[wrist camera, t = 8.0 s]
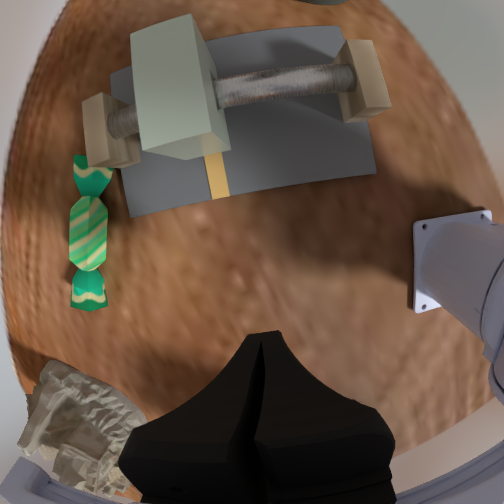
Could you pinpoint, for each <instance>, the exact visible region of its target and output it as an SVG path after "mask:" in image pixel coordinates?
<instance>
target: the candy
mask: <svg viewBox="0 0 504 504" xmlns="http://www.w3.org/2000/svg"><path fill="white" fill-rule="evenodd" d="M113 169H114V168H108V167H88V161H87V155H74V180H75V182H76V185H77V187H78V189H79V191H80V194H81V196H82V197H81V198H80V199H79V200H78V201H77V202H76V203H75V204H74V205H73V207H72V208H71V210H70V228H69V260H70V261H72V262H73V263H74V264H75V265H76V266H77V267H78V268H79V269H78V270H77V272H76V274H75V275H74V277H73V279H72V290H71V305H70V307H74V308H77V309H81V310H85V311H89V312H90V311H93V310H97V309H100V308H103V307H107V306H108V302H107V297H106V292H105V285H104V279H103V277H102V275H101V274H100V272H99V271H98V269H97V267H98V266H99V265H100V264H102V263H103V262H104V261H105V260H106V238H107V221H108V210H107V208H106V206H105V205H104V203H103V202H102V201H101V199H100V198H99V196H100V195H101V193H102V192H103V190H104V189H105V187H106V186H107V184H108V183H109V182H110V180H111V176H112V173H113Z"/></svg>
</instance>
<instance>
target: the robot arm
mask: <svg viewBox="0 0 504 504" xmlns="http://www.w3.org/2000/svg"><path fill="white" fill-rule="evenodd" d="M423 224H425V228H424V229H423V228H422V226H423ZM413 241H414V297H413V310H414V312H415V313H421V312H425V311H428V310H431V309H434V308H438V307H441V306H442V307H443V308H444V309H446V310H447V311H448V312H449V313H450V314H452V315H453V316H454V317H455V318H456V319H458V320H459V321H460V322H461V323H462V324H463V325H465V326H466V327H467V328H468V329H469V330H470V331H472V332H473V333H474V334H475V335H476V336H477V337H478V338H479V339H481V340H482V341H483V342H484V351H483V355H484V356H485V357H486V358H487V359H488V360H489V361H490V362H491V363H492V364H491V366H490V369H489V373H488V380H489V385H490V387H491V390H492V391H493V393H494V395H495V396H496V397H497V399H498V400H499V401H500V402H501V403H502V404H503V405H504V224H500V223H496V222H493V221H492V214H491V211H490V210H480V211H474V212H468V213H462V214H456V215H450V216H444V217H438V218H432V219H426V220H420V221H416V222H415V223H414V225H413ZM423 305H424V307H423V308H422V306H423ZM394 449H395V440H394V437H393V434H392V432H391V430H390V429H389V427H388V425H387V424H386V422H385V421H384V419H383V418H382V417H381V415H380V414H379V413H378V411H377V410H376V409H374V408H371V407H369V406H366V405H363V404H360V403H358V402H355V401H352V400H350V399H348V398H346V397H344V396H342V395H340V394H339V393H337V392H335V391H334V390H332V389H331V388H329V387H327V386H326V385H324V384H323V383H322V382H321V381H319V380H318V379H317V378H316V377H314V376H313V375H312V374H311V373H310V372H309V371H308V370H307V369H306V368H305V367H304V366H303V365H302V364H301V363H300V362H299V361H298V360H297V358H296V357H295V356H294V354H293V353H292V352H291V350H290V349H289V348H288V346H287V344H286V343H285V341H284V339H283V337H282V333H281V332H280V331H279V330H276V331H270V332H263V333H256V334H248V335H247V336H246V338H245V339H244V341H243V342H242V344H241V346H240V347H239V349H238V350H237V351H236V353H235V354H234V356H233V357H232V358H231V360H230V361H229V362H228V364H227V365H226V366H225V367H224V369H223V370H222V371H221V372H220V373H219V374H218V375H217V377H216V378H215V379H214V380H213V381H212V382H211V383H210V384H208V385H207V386H206V387H205V388H204V389H203V390H202V391H200V392H199V393H198V394H197V395H195V396H194V397H192V398H191V399H190V400H188V401H187V402H186V403H184V404H183V405H181V406H179V407H178V408H176V409H175V410H173V411H171V412H169V413H167V414H165V415H164V416H162V417H160V418H157V419H155V420H153V421H150V422H148V423H146V424H143V425H141V426H138V427H135V428H133V430H132V431H131V433H130V435H129V437H128V439H127V441H126V443H125V445H124V448H123V450H122V452H121V454H120V456H119V459H118V462H117V463H118V466H119V469H120V470H121V472H122V473H123V474H124V476H125V477H126V478H127V479H128V480H129V481H130V482H131V483H132V484H133V485H134V486H135V487H136V488H137V489H138V490H139V491H140V492H141V493H142V494H143V496H142V499H141V501H140V503H138V502H132V503H129V504H504V440H503V441H501V442H500V443H499V444H497V445H495V446H494V447H492V448H491V449H489V450H488V451H486V452H484V453H483V454H481V455H479V456H478V457H476V458H474V459H473V460H471V461H469V462H467V463H465V464H464V465H462V466H460V467H458V468H456V469H454V470H452V471H450V472H448V473H446V474H444V475H442V476H440V477H438V478H435V479H433V480H431V481H429V482H426V483H424V484H422V485H419V486H417V487H414V488H412V489H409V490H407V491H404V492H401V493H398V494H395V492H394V489H393V486H392V483H391V479H392V473H391V470H390V468H389V464H390V461H391V459H392V455H393V452H394ZM0 496H1V497H2V498H3V499H4V500H5V501H6V502H8V503H9V504H121V503H118V502H114V501H110V500H107V499H104V498H101V497H98V496H95V495H92V494H89V493H86V492H84V491H81V490H78V489H76V488H73V487H71V486H68V485H66V484H63V483H61V482H59V481H56V480H54V479H52V478H50V476H49V475H48V474H47V473H46V472H45V471H44V470H43V469H42V468H41V467H39V466H38V465H37V464H35V463H33V462H31V461H29V460H27V459H25V458H23V457H19V459H18V460H17V462H16V463H15V464H14V466H13V467H12V469H11V470H10V472H9V473H8V475H7V476H6V477H5V479H4V480H3V482H2V483H1V485H0Z"/></svg>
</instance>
